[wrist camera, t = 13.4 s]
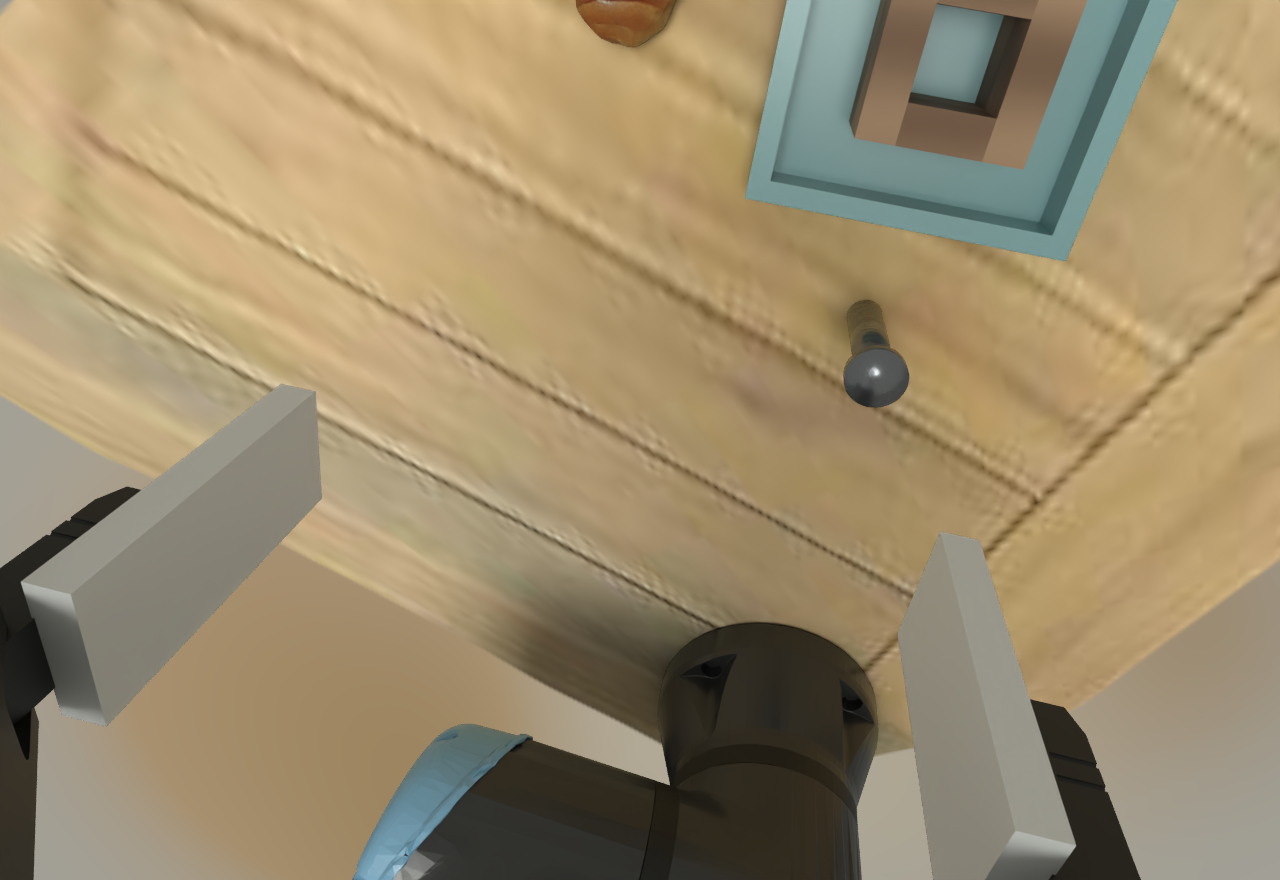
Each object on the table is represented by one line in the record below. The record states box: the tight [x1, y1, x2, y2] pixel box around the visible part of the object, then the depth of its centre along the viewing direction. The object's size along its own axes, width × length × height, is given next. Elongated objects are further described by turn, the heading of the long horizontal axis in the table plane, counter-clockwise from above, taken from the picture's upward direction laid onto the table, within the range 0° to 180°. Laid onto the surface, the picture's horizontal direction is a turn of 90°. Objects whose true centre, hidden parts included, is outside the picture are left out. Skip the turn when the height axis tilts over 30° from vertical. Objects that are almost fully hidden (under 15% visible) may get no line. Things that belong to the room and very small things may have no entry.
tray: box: [745, 0, 1178, 261], centre depth 35 cm, size 15×15×3 cm
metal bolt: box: [843, 300, 909, 408], centre depth 40 cm, size 3×3×8 cm
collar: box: [849, 0, 1087, 170], centre depth 34 cm, size 7×7×5 cm
